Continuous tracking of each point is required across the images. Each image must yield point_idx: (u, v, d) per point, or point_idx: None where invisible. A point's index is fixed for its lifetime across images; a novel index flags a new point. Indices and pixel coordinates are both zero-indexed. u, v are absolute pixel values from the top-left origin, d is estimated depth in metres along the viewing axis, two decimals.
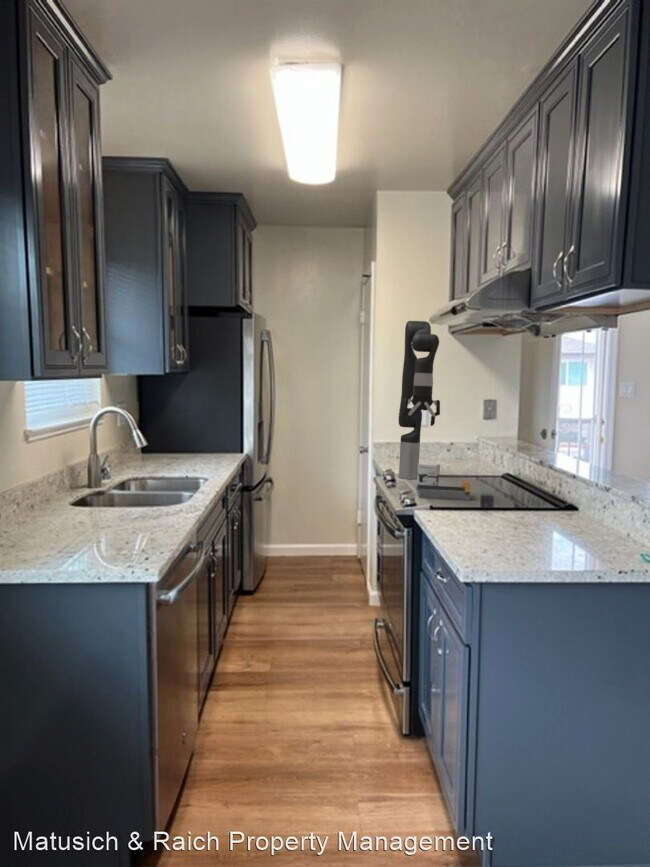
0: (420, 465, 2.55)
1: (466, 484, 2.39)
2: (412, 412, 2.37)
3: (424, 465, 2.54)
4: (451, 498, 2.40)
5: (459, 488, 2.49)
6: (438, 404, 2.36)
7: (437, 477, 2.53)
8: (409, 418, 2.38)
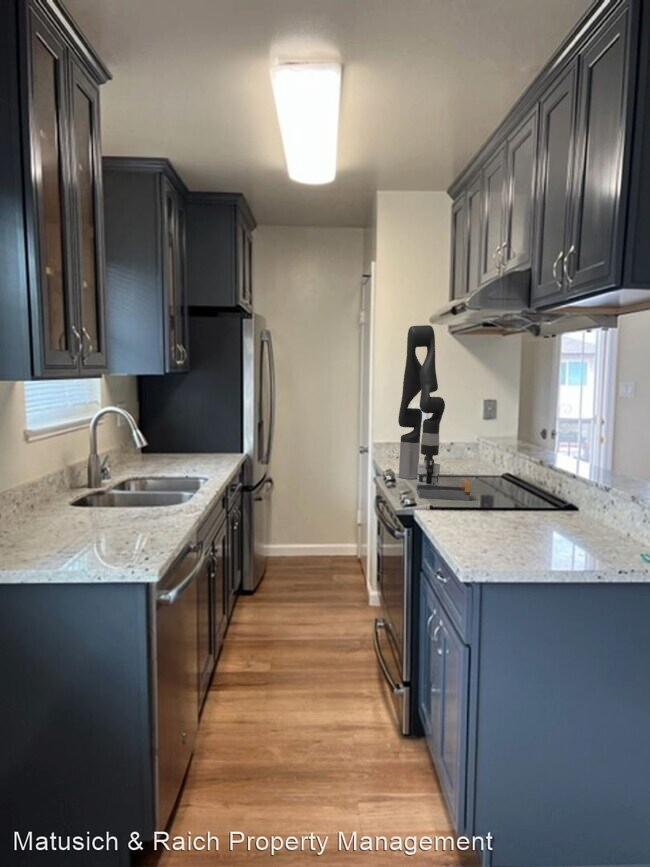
0: (420, 465, 2.55)
1: (466, 484, 2.39)
2: (432, 471, 2.53)
3: (424, 465, 2.54)
4: (451, 498, 2.40)
5: (459, 488, 2.49)
6: None
7: (437, 477, 2.53)
8: (430, 477, 2.52)
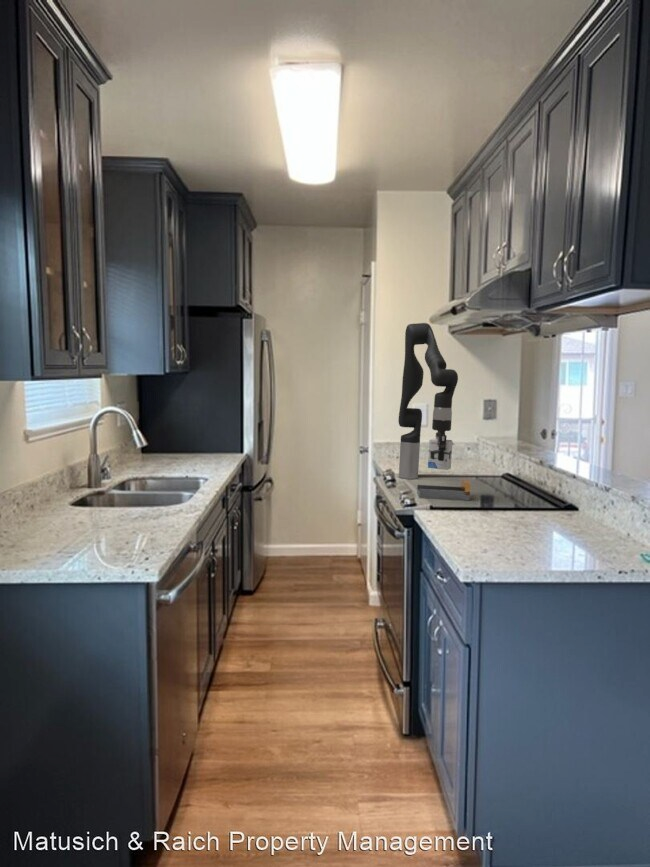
0: (431, 441, 2.42)
1: (466, 484, 2.39)
2: (444, 447, 2.40)
3: (436, 441, 2.42)
4: (451, 498, 2.40)
5: (459, 488, 2.49)
6: None
7: (449, 454, 2.41)
8: (443, 454, 2.40)
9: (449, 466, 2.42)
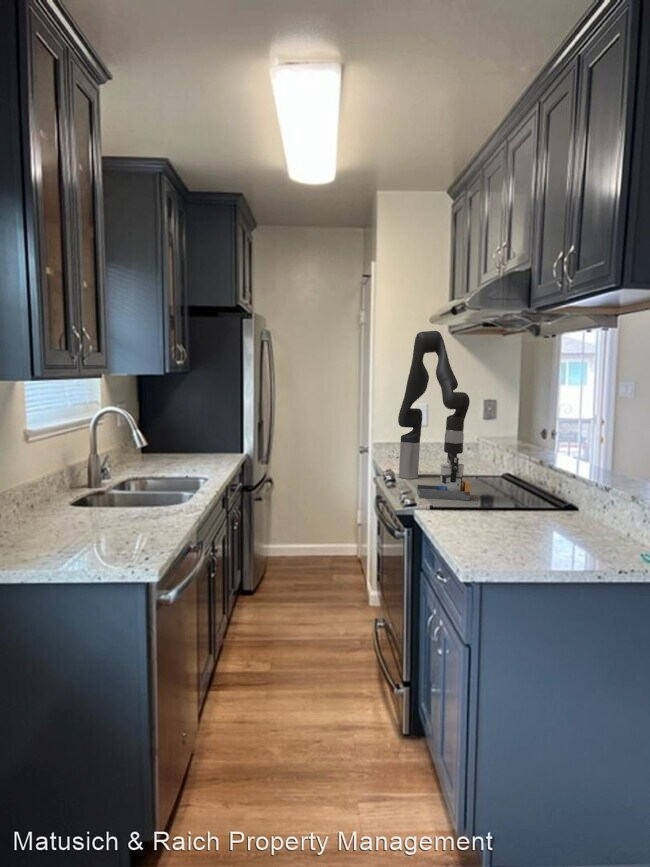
0: (443, 465, 2.43)
1: (466, 484, 2.39)
2: None
3: (448, 465, 2.42)
4: (451, 498, 2.40)
5: None
6: None
7: (461, 478, 2.42)
8: None
9: (461, 490, 2.43)
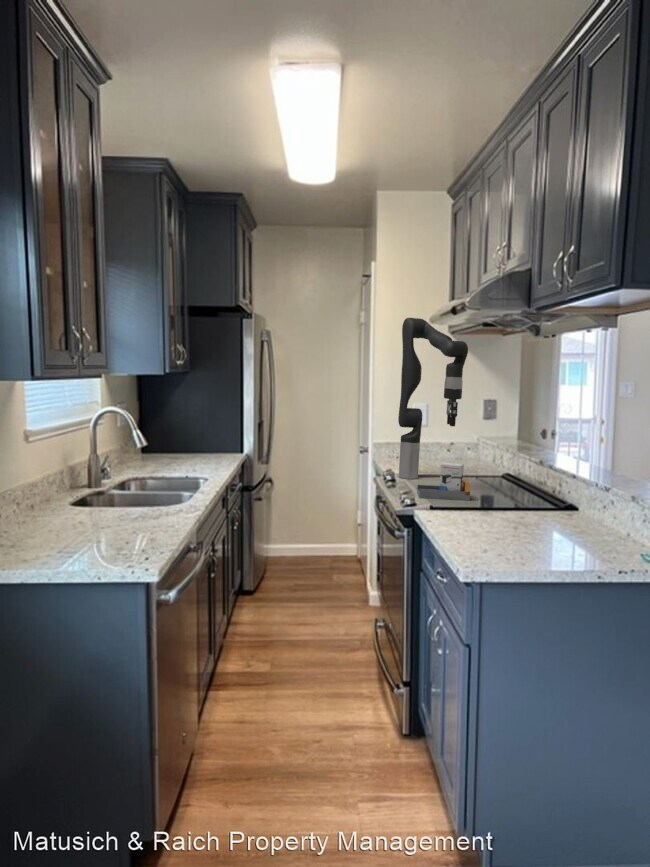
0: (443, 465, 2.43)
1: (466, 484, 2.39)
2: (455, 414, 2.54)
3: (448, 465, 2.42)
4: (451, 498, 2.40)
5: None
6: None
7: (461, 478, 2.42)
8: None
9: (461, 490, 2.43)
